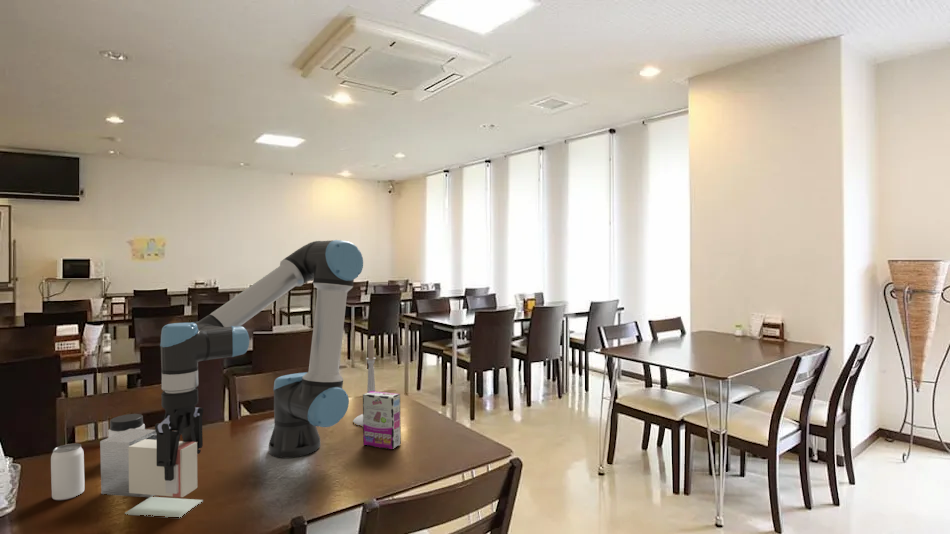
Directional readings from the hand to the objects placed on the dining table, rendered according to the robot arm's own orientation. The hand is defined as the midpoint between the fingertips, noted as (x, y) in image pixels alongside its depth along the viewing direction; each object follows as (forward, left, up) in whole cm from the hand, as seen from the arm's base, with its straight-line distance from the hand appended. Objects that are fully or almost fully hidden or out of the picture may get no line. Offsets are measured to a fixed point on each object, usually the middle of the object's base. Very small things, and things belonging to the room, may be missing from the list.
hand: (181, 486), depth 122 cm
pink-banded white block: (+5, 0, -1) cm, 5 cm away
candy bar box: (-35, -45, -6) cm, 57 cm away
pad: (+4, 0, -5) cm, 7 cm away
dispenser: (+18, -9, -5) cm, 21 cm away
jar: (+37, -26, -6) cm, 46 cm away
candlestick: (-24, -67, -6) cm, 71 cm away
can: (+33, -3, -6) cm, 34 cm away
